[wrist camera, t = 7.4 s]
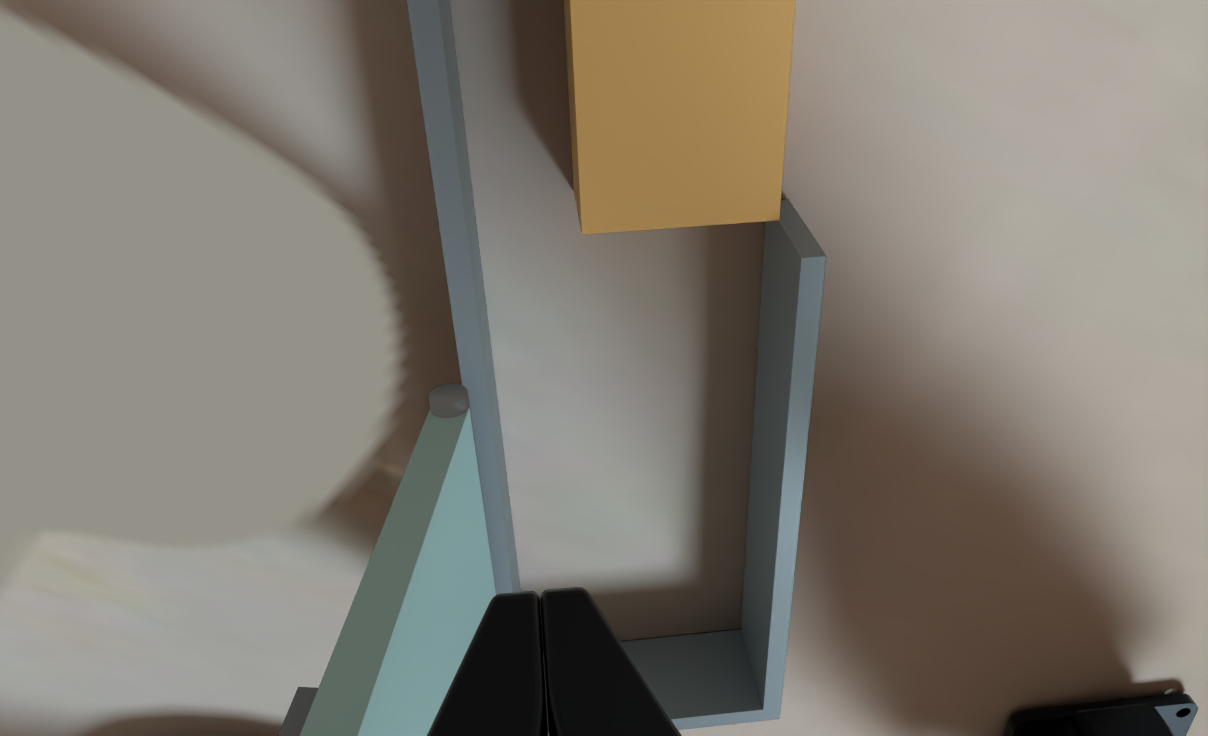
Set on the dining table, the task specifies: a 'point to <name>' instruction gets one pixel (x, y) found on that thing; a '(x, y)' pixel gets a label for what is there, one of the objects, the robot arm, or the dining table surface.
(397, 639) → the cover
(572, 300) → the dining table surface
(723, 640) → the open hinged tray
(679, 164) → the tan cardboard box
